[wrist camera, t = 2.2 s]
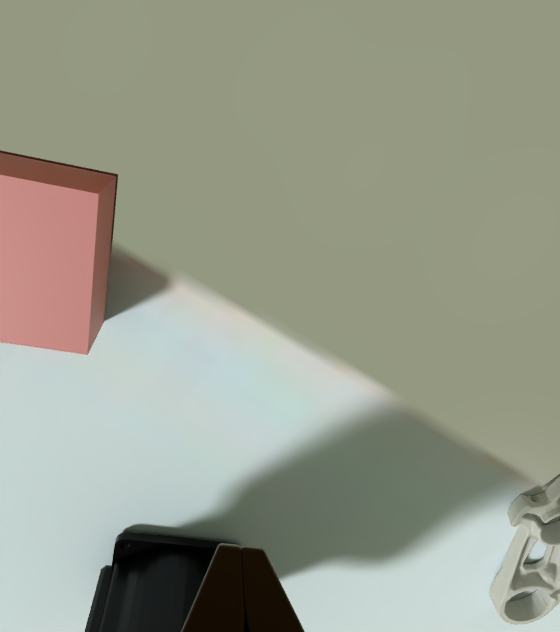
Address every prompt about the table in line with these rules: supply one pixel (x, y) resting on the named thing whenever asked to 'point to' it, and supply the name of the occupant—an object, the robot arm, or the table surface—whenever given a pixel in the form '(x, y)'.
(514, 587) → the bracket
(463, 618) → the table surface
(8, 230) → the block
